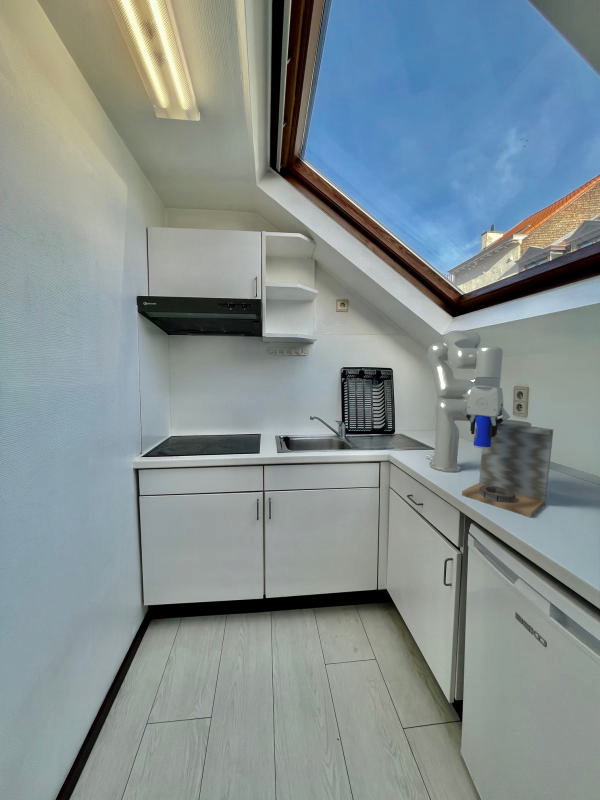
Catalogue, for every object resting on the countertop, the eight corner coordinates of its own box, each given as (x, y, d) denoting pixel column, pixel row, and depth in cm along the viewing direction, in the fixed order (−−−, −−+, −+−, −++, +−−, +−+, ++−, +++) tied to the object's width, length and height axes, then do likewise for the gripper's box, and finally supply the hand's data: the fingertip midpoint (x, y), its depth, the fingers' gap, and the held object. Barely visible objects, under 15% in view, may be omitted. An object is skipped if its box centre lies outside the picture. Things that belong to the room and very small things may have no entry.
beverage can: (475, 445, 109) (478, 403, 108) (491, 447, 106) (495, 404, 105) (471, 447, 105) (475, 404, 104) (489, 449, 102) (492, 405, 101)
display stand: (461, 495, 107) (467, 424, 104) (480, 485, 117) (486, 420, 114) (530, 517, 91) (539, 434, 89) (545, 504, 101) (553, 429, 99)
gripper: (456, 382, 108) (453, 432, 110) (511, 383, 95) (506, 441, 96) (466, 382, 113) (462, 430, 114) (520, 384, 99) (515, 438, 101)
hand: (483, 434), depth 105 cm, fingers closed on beverage can, 5 cm apart
